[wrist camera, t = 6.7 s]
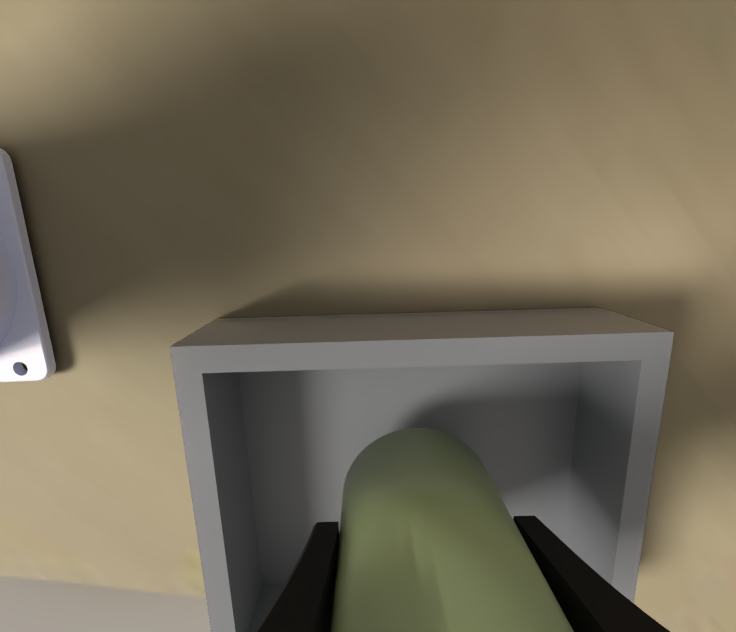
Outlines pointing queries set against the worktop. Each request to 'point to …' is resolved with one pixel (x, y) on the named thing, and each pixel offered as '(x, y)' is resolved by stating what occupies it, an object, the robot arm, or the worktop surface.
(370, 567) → the green cylinder
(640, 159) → the worktop surface
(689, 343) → the worktop surface
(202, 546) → the grey bin
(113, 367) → the worktop surface
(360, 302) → the worktop surface
